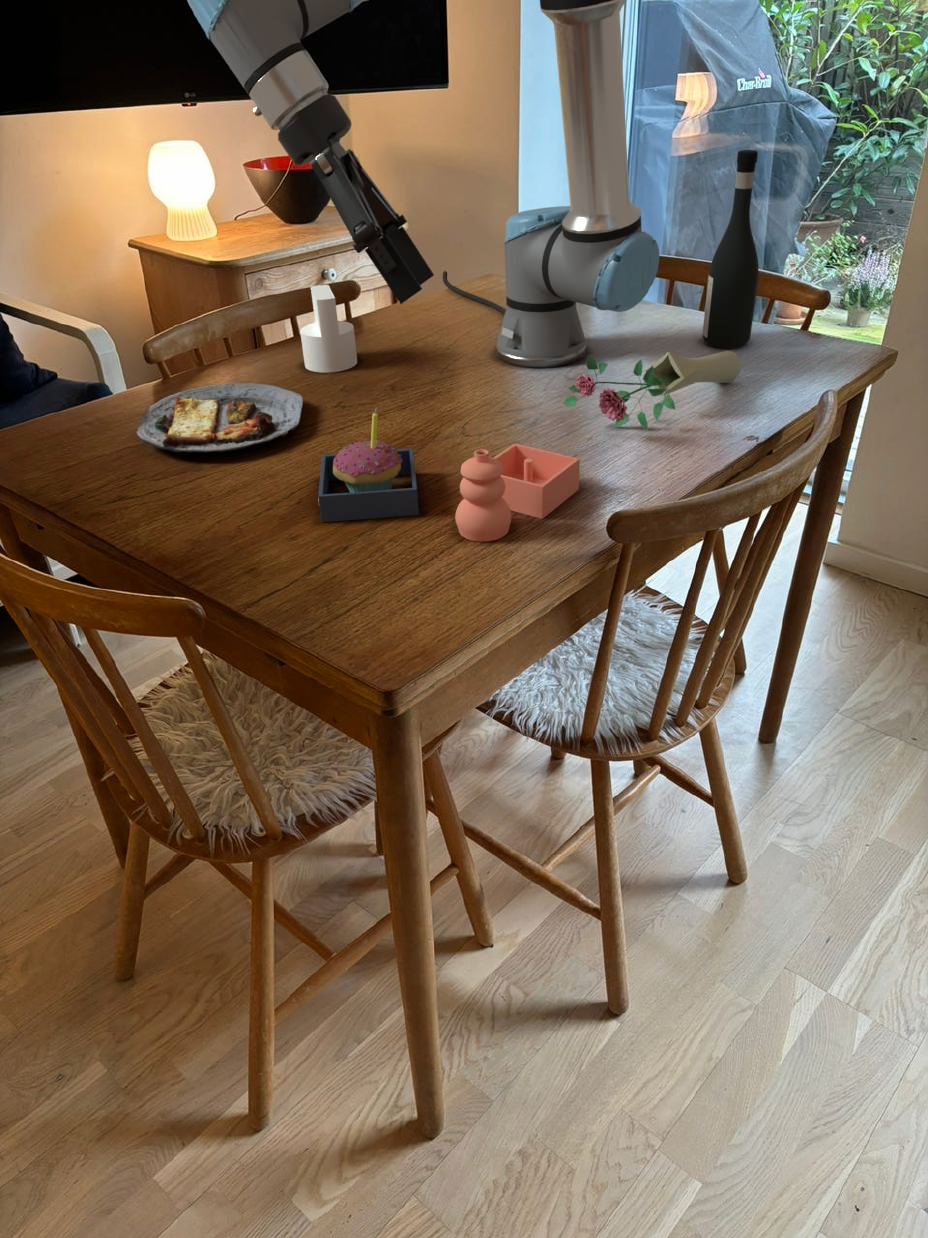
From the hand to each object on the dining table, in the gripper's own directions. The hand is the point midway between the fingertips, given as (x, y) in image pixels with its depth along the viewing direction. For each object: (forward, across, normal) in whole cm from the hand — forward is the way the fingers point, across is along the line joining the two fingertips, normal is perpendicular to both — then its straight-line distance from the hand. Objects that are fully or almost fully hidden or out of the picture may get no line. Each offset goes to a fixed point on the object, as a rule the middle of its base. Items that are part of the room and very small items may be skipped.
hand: (418, 289), depth 107 cm
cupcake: (+17, -2, -20) cm, 26 cm away
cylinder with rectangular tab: (+4, -52, -28) cm, 59 cm away
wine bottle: (+39, -59, +30) cm, 76 cm away
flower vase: (+35, -27, +16) cm, 47 cm away
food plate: (+1, -24, -39) cm, 46 cm away
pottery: (+27, +2, -5) cm, 28 cm away
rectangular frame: (+17, -2, -20) cm, 26 cm away
